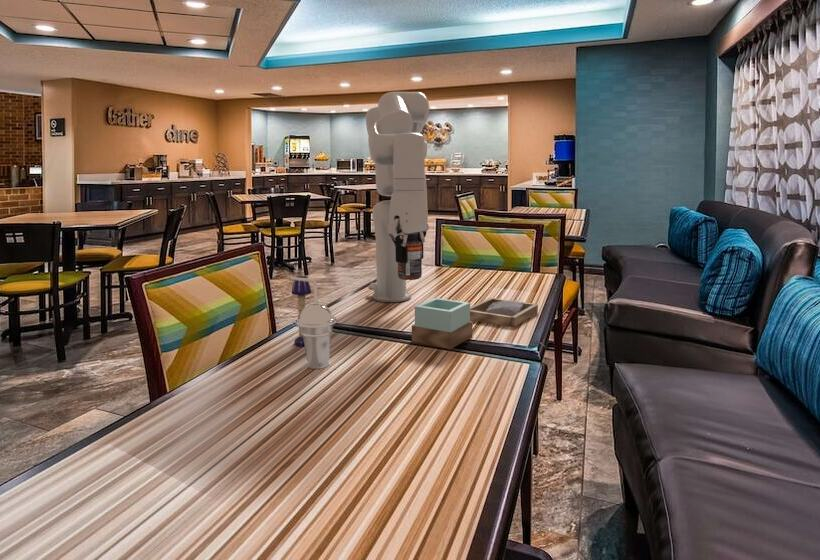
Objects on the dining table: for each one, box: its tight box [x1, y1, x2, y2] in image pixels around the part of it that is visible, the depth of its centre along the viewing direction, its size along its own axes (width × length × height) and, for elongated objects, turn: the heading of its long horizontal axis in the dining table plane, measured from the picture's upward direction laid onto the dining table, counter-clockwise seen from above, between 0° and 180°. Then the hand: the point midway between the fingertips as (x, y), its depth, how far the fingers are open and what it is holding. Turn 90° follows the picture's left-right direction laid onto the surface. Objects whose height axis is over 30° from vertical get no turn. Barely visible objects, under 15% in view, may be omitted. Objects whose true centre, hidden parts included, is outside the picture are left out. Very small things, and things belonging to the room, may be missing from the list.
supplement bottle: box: [398, 233, 423, 281], centre depth 134 cm, size 6×6×11 cm
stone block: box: [485, 300, 524, 316], centre depth 156 cm, size 12×5×10 cm
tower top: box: [414, 297, 471, 332], centre depth 134 cm, size 10×10×5 cm
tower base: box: [411, 320, 473, 350], centre depth 135 cm, size 11×11×4 cm
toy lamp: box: [291, 275, 312, 347], centre depth 131 cm, size 5×5×17 cm
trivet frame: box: [470, 297, 539, 327], centre depth 156 cm, size 15×17×2 cm
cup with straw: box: [288, 276, 337, 370], centre depth 116 cm, size 8×9×20 cm
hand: (409, 259), depth 134 cm, fingers closed on supplement bottle, 6 cm apart
